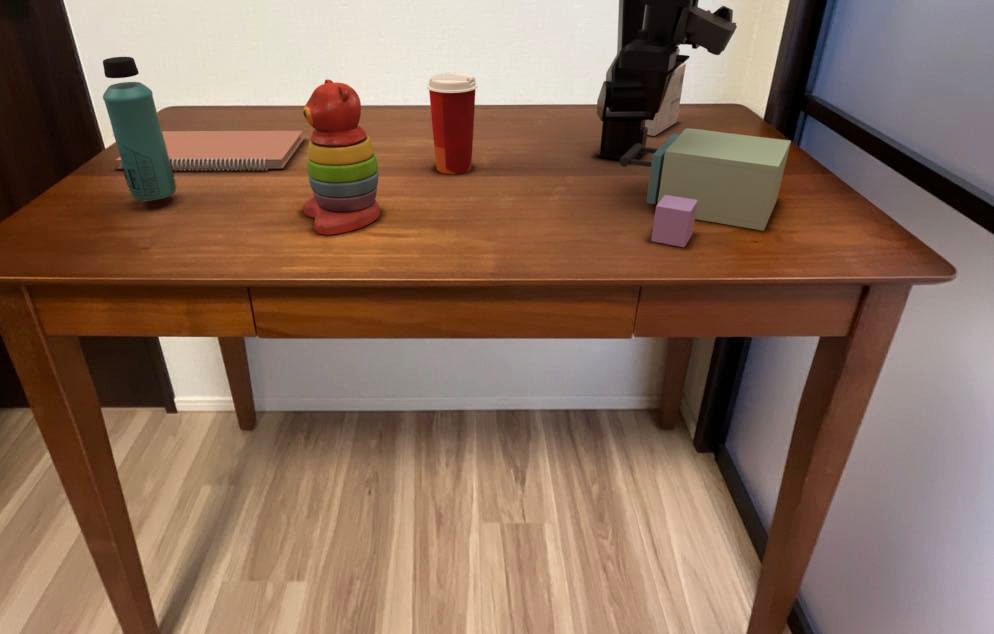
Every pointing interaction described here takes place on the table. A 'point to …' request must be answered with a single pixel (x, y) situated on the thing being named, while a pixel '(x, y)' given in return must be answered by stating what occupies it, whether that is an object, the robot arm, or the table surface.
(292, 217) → the table surface
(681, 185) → the green drawer cabinet
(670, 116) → the light bulb box
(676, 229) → the mauve rounded cube
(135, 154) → the beverage bottle
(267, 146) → the notebook
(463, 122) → the paper cup
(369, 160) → the stacking bear
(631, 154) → the drawer
